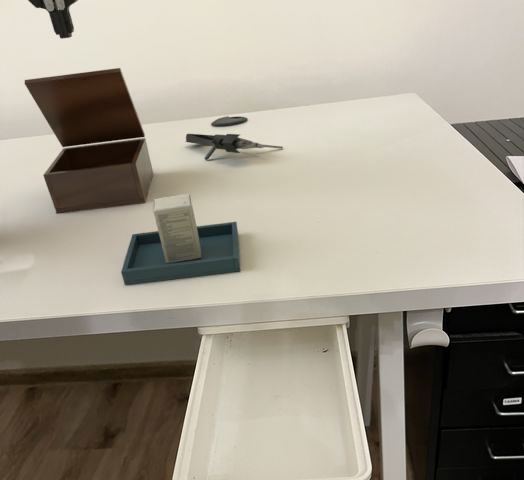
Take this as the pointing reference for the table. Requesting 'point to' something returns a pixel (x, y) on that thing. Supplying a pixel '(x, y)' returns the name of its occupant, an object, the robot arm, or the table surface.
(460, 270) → the table surface
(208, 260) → the tray
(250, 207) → the table surface
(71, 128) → the lid
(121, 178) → the chest
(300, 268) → the table surface
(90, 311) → the table surface
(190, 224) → the small box
